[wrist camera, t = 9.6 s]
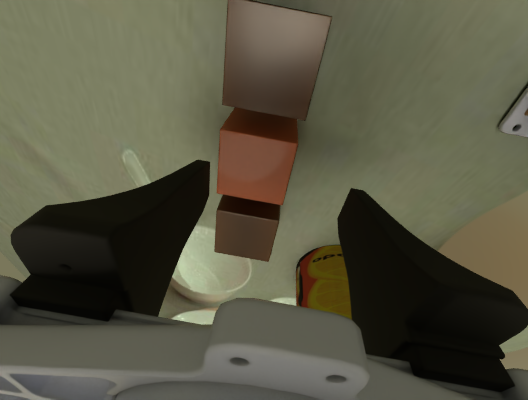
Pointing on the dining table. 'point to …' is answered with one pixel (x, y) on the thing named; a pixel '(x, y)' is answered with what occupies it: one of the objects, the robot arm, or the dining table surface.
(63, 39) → the dining table surface
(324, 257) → the beverage can
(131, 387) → the robot arm
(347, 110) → the dining table surface
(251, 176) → the terracotta block
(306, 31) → the walnut block
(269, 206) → the walnut block
